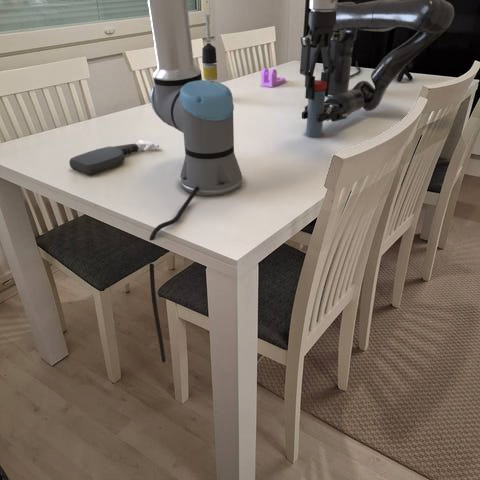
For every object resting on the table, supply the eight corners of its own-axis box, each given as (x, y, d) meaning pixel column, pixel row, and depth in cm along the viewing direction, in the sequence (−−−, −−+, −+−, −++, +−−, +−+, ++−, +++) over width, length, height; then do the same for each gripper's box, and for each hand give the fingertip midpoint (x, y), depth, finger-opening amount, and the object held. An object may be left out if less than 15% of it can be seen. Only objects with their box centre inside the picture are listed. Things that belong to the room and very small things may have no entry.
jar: (303, 133, 141) (306, 83, 133) (317, 131, 142) (321, 82, 134) (310, 138, 137) (313, 87, 129) (324, 136, 138) (328, 85, 130)
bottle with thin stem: (220, 99, 177) (217, 15, 161) (206, 100, 176) (202, 16, 160) (215, 96, 182) (212, 14, 166) (202, 97, 180) (197, 14, 164)
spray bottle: (67, 168, 120) (139, 144, 136) (91, 178, 114) (163, 151, 130) (65, 157, 118) (137, 134, 134) (89, 167, 112) (162, 142, 128)
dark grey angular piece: (400, 92, 202) (376, 71, 205) (417, 76, 202) (392, 56, 205) (405, 81, 191) (380, 59, 194) (423, 64, 191) (397, 42, 194)
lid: (312, 90, 130) (312, 84, 129) (305, 86, 134) (305, 80, 133) (329, 89, 131) (329, 83, 130) (322, 85, 135) (322, 79, 134)
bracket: (271, 87, 193) (272, 70, 189) (261, 85, 196) (261, 68, 192) (287, 81, 202) (288, 65, 198) (277, 79, 205) (277, 63, 201)
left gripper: (308, 13, 114) (303, 105, 127) (356, 8, 123) (347, 94, 136) (288, 11, 119) (285, 99, 132) (336, 7, 128) (328, 89, 141)
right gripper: (323, 90, 148) (291, 101, 137) (361, 97, 139) (331, 109, 129) (321, 113, 152) (290, 125, 141) (358, 121, 143) (329, 134, 133)
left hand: (316, 96), depth 134 cm, fingers closed on lid, 5 cm apart
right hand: (310, 117), depth 135 cm, fingers closed on jar, 5 cm apart
